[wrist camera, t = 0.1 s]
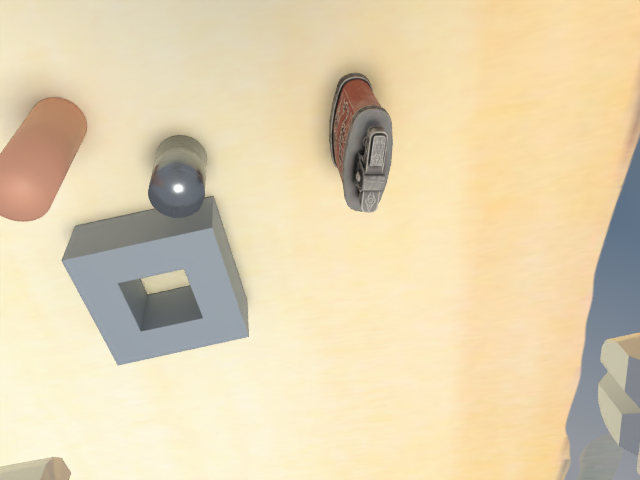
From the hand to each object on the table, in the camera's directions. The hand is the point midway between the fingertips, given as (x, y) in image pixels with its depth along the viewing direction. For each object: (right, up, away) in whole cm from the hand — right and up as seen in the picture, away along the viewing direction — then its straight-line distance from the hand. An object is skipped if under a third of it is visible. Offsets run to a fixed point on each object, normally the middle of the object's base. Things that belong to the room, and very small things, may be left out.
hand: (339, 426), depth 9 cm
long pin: (-20, +12, +36) cm, 43 cm away
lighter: (+2, +13, +39) cm, 41 cm away
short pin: (-12, +9, +39) cm, 42 cm away
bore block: (-14, 0, +45) cm, 47 cm away
